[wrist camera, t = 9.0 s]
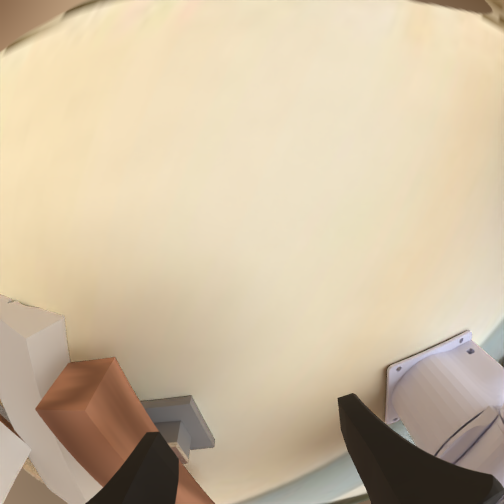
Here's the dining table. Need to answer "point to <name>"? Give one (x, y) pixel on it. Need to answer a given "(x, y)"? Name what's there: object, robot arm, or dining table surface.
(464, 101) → the dining table surface
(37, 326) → the decorative molding
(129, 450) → the mahogany rod
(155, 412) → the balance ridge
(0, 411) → the white tower model
